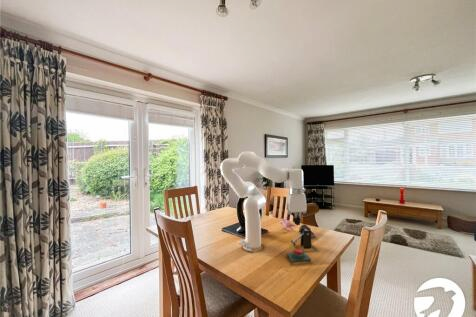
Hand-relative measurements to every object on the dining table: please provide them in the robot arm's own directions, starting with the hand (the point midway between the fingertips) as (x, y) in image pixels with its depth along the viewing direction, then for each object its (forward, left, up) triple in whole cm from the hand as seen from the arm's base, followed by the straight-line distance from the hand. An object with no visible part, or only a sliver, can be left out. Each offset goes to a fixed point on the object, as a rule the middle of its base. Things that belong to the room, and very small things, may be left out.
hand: (297, 224), depth 111 cm
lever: (+7, +10, -12) cm, 17 cm away
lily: (+8, +39, -19) cm, 44 cm away
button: (-1, -2, -15) cm, 15 cm away
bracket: (+9, +10, -19) cm, 23 cm away
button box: (-1, -2, -19) cm, 19 cm away
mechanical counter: (+18, +27, -19) cm, 38 cm away
